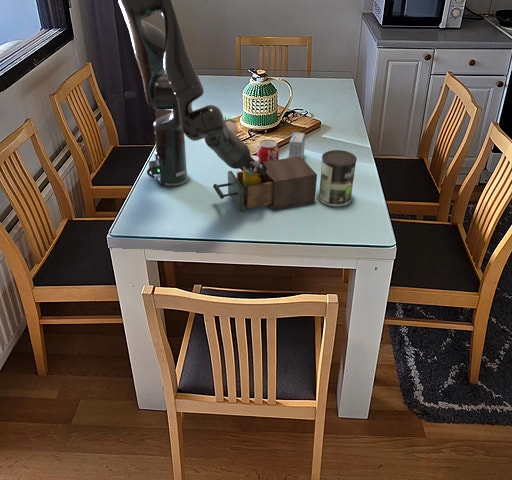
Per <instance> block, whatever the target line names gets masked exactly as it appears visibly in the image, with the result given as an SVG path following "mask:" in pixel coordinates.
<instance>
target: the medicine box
mask: <svg viewBox="0 0 512 480" xmlns="http://www.w3.org/2000/svg"><path fill="white" fill-rule="evenodd" d="M305 142H306V133H304V132H292V135H291V137H290V140H289V144H288V158H292V157H298V156H300V157H301V158H302V159H303V160H304V157H305V146H306V145H305V144H306V143H305Z"/></svg>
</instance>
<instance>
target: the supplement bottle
mask: <svg viewBox="0 0 512 480" xmlns="http://www.w3.org/2000/svg"><path fill="white" fill-rule="evenodd" d="M250 156H251V157H252V158H253V159H254V160H256V161H257V162H258V163H259V158H258V157H257V155H250ZM250 169H252V168H250ZM256 169H257V168H256ZM256 171H257V170H256ZM255 184H261V178H260V177H259V176H258V175H257V174H255V173H251V172H249V171H248V170H246V169H243V188H244V189H245V190H246V191H247V186H249V185H255Z"/></svg>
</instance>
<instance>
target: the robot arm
mask: <svg viewBox="0 0 512 480" xmlns="http://www.w3.org/2000/svg"><path fill="white" fill-rule="evenodd" d="M118 4H119V7H120V9H121V13H122V14H123V17H124V21H125V23H126V25H127V28H128V31H129V35H130V40H131V43H132V47H133V52H134V56H135V59H136V62H137V66H138V68H139V71H140V75H141V79H142V83H143V90H144V96H145V101H146V103H147V106H148V107H149V108H150V109H152V110H154V111H170V112H169V113H167V114H165V115H162V116H160V117H157V119H155V120H154V122H153V131H154V132H153V133H154V143H155V151H154V157H155V160H148V169H147V170H146V174H147V175H148V177H150V178H151V179H154V178H155V177H157V180H158V182H159V184H160V186H161V187H163V186H167V187H179V186H181V185H184V184H185V183H186V182H187V181H188V178H189V177H188V169H187V155H186V154H187V153H186V139H185V137H187V139H189V140H190V141H192V142H193V141H194V142H197V141H200V140H204V143H205V144H206V146H207V147H208V148H209V149H210V150H211V151H213V152H214V153H215V154H216V156H217V157H218V158H219V159H220V160H221V161H222V162H223V163H225V164H226V165H227V166H228V167H229V168H231V169H235V170H237V169H238V170H240V171H243V169H246V170H248V171H249V172H251V173H255V174H257V175H258V176H259V177H260V178H261V179H264V178H265V176H266V170H267V167H266V166H265V164H264V163H263V162H261V161H260V162H259V163H258V162H257V161H256V160H254V159H253V158H252V157H251V156H252V155H251V150H250V148H249V146H247V144H245V143H244V141H242V140H241V138H240V137H239V136H238V135H235V134H233V133H232V132H231V131H230V130H229V129H228V127H227V125H226V123H225V121H224V120H225V117H224V114H223V112H222V110H221V109H220V107H218V106H216V105H213V104H208V105H205V106H203V107H200V108H198V109H196V110H193V103H194V102H195V101H197V100H198V99H199V98H202V96H203V95H204V92H205V91H204V86H203V84H202V82H201V80H200V78H199V75H198V73H197V71H196V68H195V65H194V64H193V61H192V59H191V57H190V53H189V50H188V48H187V45H186V42H185V38H184V35H183V31H182V28H181V24H180V22H179V18H178V15H177V13H176V9H175V6H174V2H173V0H118ZM159 12H160V13H161V16H162V21H163V24H164V31H165V33H164V31H162V30H161V29H160V28H159V27H157V26H156V25H153V24H151V23H149V22H148V21H145V20H144V19H146V18H148V17H150V16H152V15H155V14H157V13H159ZM163 75H165V76H166V77H162V76H163ZM250 168H252V169H250ZM256 168H257V169H256ZM256 170H257V171H256Z"/></svg>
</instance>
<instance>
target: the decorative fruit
mask: <svg viewBox="0 0 512 480" xmlns="http://www.w3.org/2000/svg"><path fill="white" fill-rule="evenodd" d="M224 121H225V123H226V125H227V127H228V129H229V130H230V131H231V132H232V133H233V134H235V135H236V136H238V125H237V123H239V122H238V120H237V119H235V118H227V117H226V116H224Z"/></svg>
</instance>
